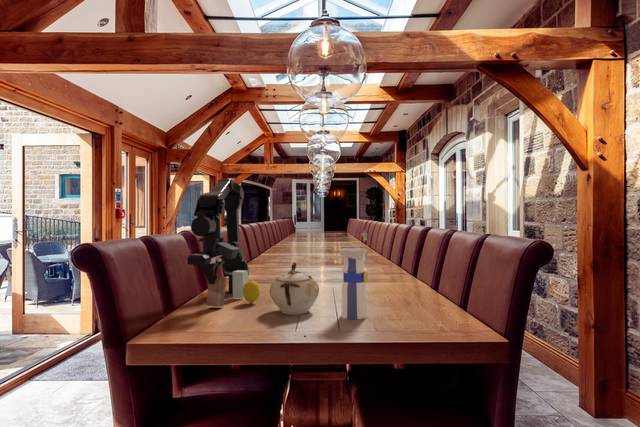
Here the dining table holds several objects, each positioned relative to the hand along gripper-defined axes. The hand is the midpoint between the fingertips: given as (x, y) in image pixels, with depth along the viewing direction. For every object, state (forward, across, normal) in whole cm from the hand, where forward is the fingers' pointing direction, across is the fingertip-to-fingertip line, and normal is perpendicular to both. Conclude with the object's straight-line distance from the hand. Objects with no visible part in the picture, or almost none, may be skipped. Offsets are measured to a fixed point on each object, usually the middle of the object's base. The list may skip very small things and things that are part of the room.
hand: (212, 284), depth 137 cm
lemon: (+8, +11, -8) cm, 16 cm away
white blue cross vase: (+8, +3, -45) cm, 46 cm away
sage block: (+8, +19, 0) cm, 20 cm away
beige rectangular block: (+8, +1, 0) cm, 8 cm away
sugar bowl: (+8, +4, -26) cm, 28 cm away
